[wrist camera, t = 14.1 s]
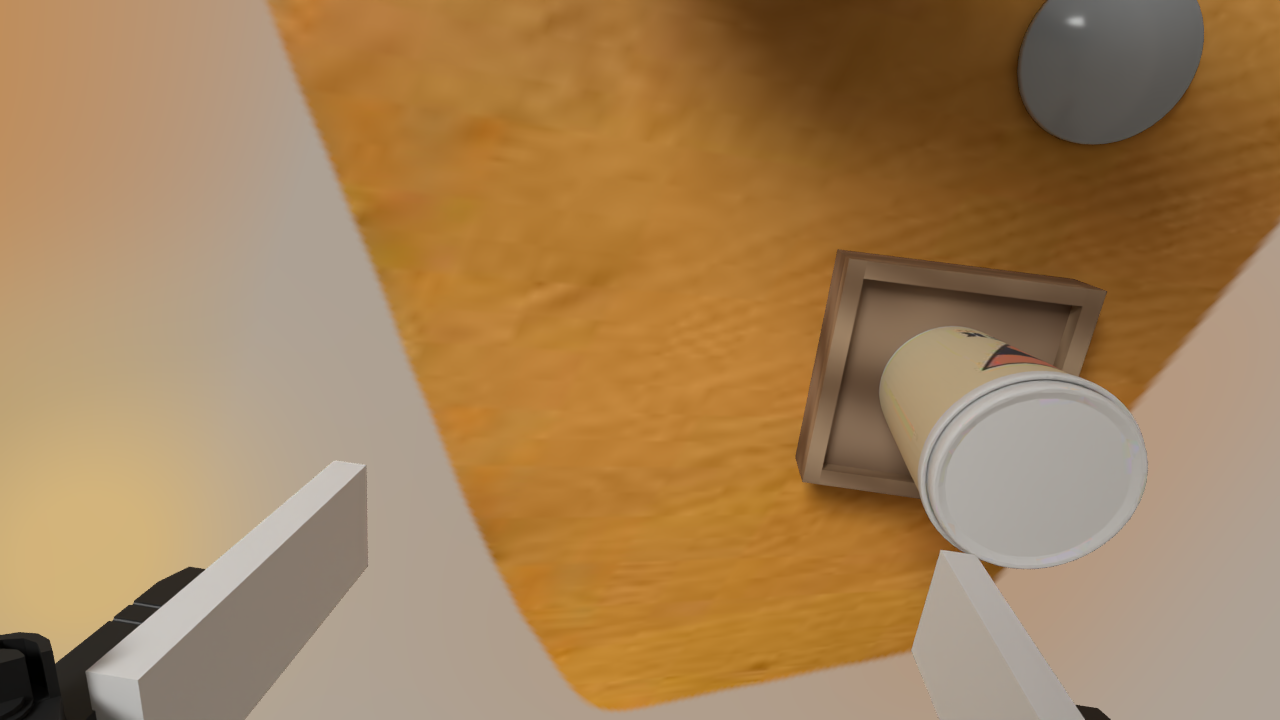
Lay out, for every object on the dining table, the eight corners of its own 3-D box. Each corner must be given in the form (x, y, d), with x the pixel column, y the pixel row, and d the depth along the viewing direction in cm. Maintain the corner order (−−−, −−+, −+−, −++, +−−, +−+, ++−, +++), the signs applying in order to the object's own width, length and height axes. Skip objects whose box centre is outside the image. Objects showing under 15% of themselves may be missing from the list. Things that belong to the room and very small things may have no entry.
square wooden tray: (837, 249, 41) (849, 258, 38) (1074, 279, 40) (1107, 291, 37) (795, 457, 45) (802, 481, 42) (1007, 487, 45) (1032, 514, 41)
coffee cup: (1062, 377, 40) (1207, 471, 28) (944, 486, 42) (1032, 612, 31) (944, 278, 38) (1045, 335, 27) (831, 397, 41) (879, 493, 30)
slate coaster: (1045, -46, 35) (1050, -49, 35) (1222, -28, 35) (1231, -31, 34) (997, 134, 38) (1002, 134, 38) (1161, 153, 38) (1168, 153, 37)
